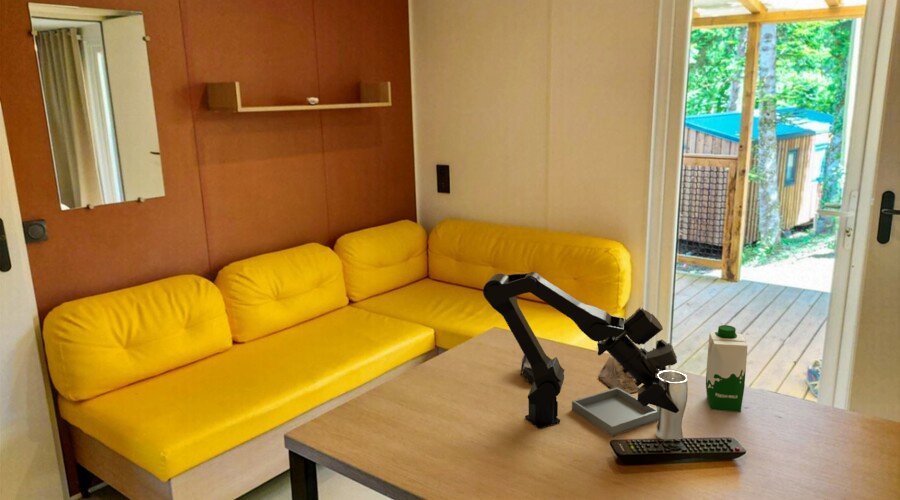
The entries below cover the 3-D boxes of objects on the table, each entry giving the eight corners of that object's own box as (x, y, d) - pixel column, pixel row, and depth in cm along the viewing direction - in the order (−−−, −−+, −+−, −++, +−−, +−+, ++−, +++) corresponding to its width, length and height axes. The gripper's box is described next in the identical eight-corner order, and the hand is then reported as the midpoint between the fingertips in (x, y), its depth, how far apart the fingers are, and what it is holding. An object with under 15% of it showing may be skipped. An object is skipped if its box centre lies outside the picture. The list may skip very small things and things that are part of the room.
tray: (612, 436, 148) (612, 426, 148) (571, 410, 161) (572, 401, 161) (659, 420, 155) (659, 410, 154) (617, 395, 168) (617, 387, 167)
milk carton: (738, 397, 164) (744, 325, 160) (745, 414, 156) (751, 338, 151) (702, 395, 167) (707, 323, 162) (707, 411, 158) (712, 336, 153)
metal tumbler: (660, 425, 152) (662, 367, 149) (689, 433, 148) (692, 374, 145) (648, 437, 147) (651, 378, 144) (678, 446, 143) (682, 385, 139)
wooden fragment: (642, 398, 167) (642, 394, 166) (599, 396, 169) (599, 392, 168) (633, 359, 191) (633, 356, 191) (596, 357, 193) (596, 354, 193)
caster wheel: (549, 394, 176) (514, 385, 178) (556, 370, 185) (523, 362, 188) (552, 375, 172) (516, 367, 175) (559, 352, 182) (525, 344, 185)
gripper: (655, 350, 134) (708, 403, 134) (655, 320, 152) (702, 367, 151) (616, 380, 139) (667, 432, 138) (620, 348, 156) (666, 394, 155)
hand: (677, 404), depth 145 cm, fingers closed on metal tumbler, 6 cm apart
